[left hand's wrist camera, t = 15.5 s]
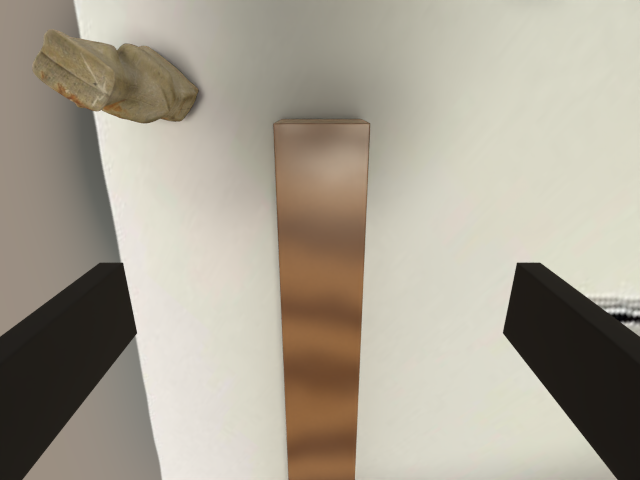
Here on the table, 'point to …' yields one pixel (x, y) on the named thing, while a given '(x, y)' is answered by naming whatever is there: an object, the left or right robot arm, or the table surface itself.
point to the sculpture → (114, 78)
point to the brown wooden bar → (321, 288)
